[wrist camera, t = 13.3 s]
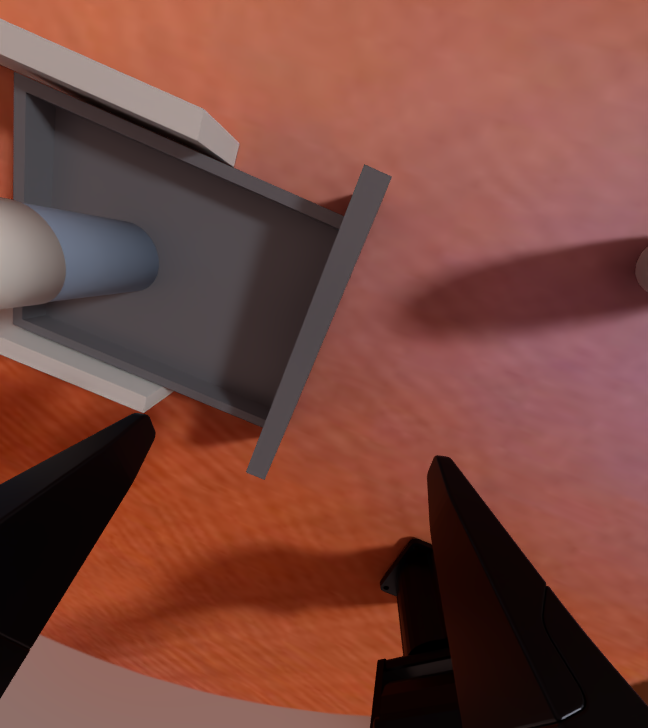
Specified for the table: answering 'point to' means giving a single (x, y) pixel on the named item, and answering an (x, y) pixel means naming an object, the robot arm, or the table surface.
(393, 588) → the robot arm
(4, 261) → the canister
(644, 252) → the donut
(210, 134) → the dock
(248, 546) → the table surface
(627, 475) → the table surface
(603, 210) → the table surface
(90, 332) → the tray
